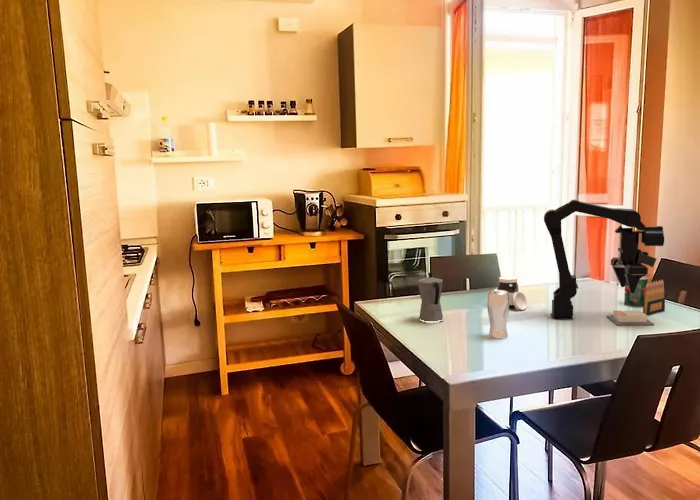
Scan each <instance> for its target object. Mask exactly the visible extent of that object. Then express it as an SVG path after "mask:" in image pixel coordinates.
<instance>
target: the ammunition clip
mask: <svg viewBox="0 0 700 500" xmlns="http://www.w3.org/2000/svg"><path fill="white" fill-rule="evenodd" d="M665 308H666V298H665V283H664V279H661V280H660V279H659V280H655V281H652V282H651V281H649V282H648V283H647V285H646V291H645V301H644V303H643V307H642V312H643V313H644V314H646V315H647V317H649V316H651V315H656V314H659V313H664V312H666V311H665V310H666V309H665Z"/></svg>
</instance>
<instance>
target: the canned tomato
mask: <svg viewBox="0 0 700 500" xmlns="http://www.w3.org/2000/svg"><path fill="white" fill-rule="evenodd" d="M648 279H649V278H648V277H647V276H646V275H645V276H643V277H642V278H640V280H639V282H638V284H637V287H636V289H635V292H634V293H631V292H630V289H629V286H628V283H627V280H626V283H625V287H624V298H623V299H624V300H623V301H624V302H623V303H624V306H626V307H630V308H638V307H639V308H643V303H644V301H645V291H646V285H647V283H649V281H648Z"/></svg>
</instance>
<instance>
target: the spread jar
mask: <svg viewBox="0 0 700 500" xmlns="http://www.w3.org/2000/svg"><path fill="white" fill-rule="evenodd" d="M498 280H499V282H498V284H497V290H505V291H508V292H509V308H513V309H517V310H518V311H524V310H526V308H527V306H528V300H527V297H526V295H525V294H524V293H523V292H521V291H519V284H518V277H517V276H513V275H512V276H511V275H510V276H509V275H508V276H507V275H504V276H499V277H498Z"/></svg>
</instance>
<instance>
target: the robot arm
mask: <svg viewBox="0 0 700 500" xmlns="http://www.w3.org/2000/svg"><path fill="white" fill-rule="evenodd" d="M575 212H577V213H581V214H587V215H590V216H595V217H598V218H603V219H604V218H605V219H609V220H611V221H614V222H615V223H618V224H620V225H618V227H617V228H616V229H615V230H614V233H615V234H620V242H619V243H620V244H619V247H618V248H617V251H618V252H619V257H612V258H611V259H610V266H611V267H612V270H613V272H614V273H615V276H616V278H617V281H618V282H619V286H620V287H621V288H625V283H626V280H627V283H628V286H629V289H630V292H631V293H634V292H635V289H636V287H637V284H638V282H639V280H640V278H642V277H643V276H645V277H646V275H648V273H649V268H648V267H647V266H649V267H650V268H654V267H655V263H656V262H657V258H656V257H654V256H651V255H649V252H647V251H644V250H642V249H640V248H639V244H643V245H644V247H664V245H665V235H664V234H665V233H664V227H663V226H662V225H657V226H646V225H645V224H644V223H643V222H642V220H641V219H642V218H641V214H640V212H638V211H636V210H635V209H632V208H619V207H618V208H613V207H607V206H605V205H598V204H593V203H590V202H585V201H580V200H577V199H571V200H570V201H569V202H567V203H565V204H563V205H561V206H559V207H557V208H556V209H549V210H547V211H546V212H545V213H544V216H543V221H544V224H545V227H546V229H547V231H548V234H549V235H550V238H551V242H552V249H553V252H554V255H555V260H556V266H557V271H558V285H559V286H558V287H557V288H556V289H555V290H554V291H553V293H552V295H553V299H552V300H551V313H550V316H551V317H552V318H553V319H554V320H573V319H574V317H573V316H574V305H573V301H572V298H574V297H575V296H576V295H577V293H578V289H579V285H578V283H577V275H576V274H572V273H571V271H570V267H569V265H568V259H567V255H566V250H565V246H564V240H563V236H562V220H564V219H565V218H567V217H569V216H570V215H572V214H574V213H575ZM621 225H622V226H626V227H622V226H621ZM633 228H635V229H636V230H633ZM639 241H640V243H639ZM646 265H647V266H646Z"/></svg>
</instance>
